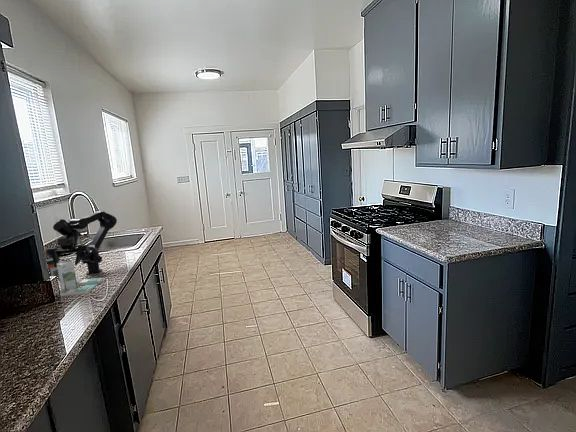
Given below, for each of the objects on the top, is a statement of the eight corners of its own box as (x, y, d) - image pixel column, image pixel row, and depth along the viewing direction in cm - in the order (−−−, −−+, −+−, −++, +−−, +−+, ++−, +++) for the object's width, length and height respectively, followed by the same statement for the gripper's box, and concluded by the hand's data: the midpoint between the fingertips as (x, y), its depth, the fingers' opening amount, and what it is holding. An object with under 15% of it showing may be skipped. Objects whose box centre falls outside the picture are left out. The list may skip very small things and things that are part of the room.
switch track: (69, 283, 178) (68, 280, 177) (102, 280, 179) (102, 277, 179) (50, 297, 161) (50, 293, 161) (87, 293, 163) (87, 290, 162)
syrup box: (74, 286, 174) (68, 259, 171) (78, 288, 170) (73, 261, 167) (61, 290, 169) (55, 262, 167) (65, 292, 166) (60, 264, 163)
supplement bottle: (43, 280, 185) (39, 261, 183) (54, 276, 190) (50, 257, 188) (51, 281, 183) (47, 262, 181) (61, 277, 188) (57, 258, 186)
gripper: (44, 233, 168) (36, 260, 160) (84, 229, 172) (79, 256, 163) (54, 244, 178) (48, 271, 169) (92, 240, 181) (88, 266, 172)
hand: (65, 266), depth 168 cm, fingers open, 9 cm apart
